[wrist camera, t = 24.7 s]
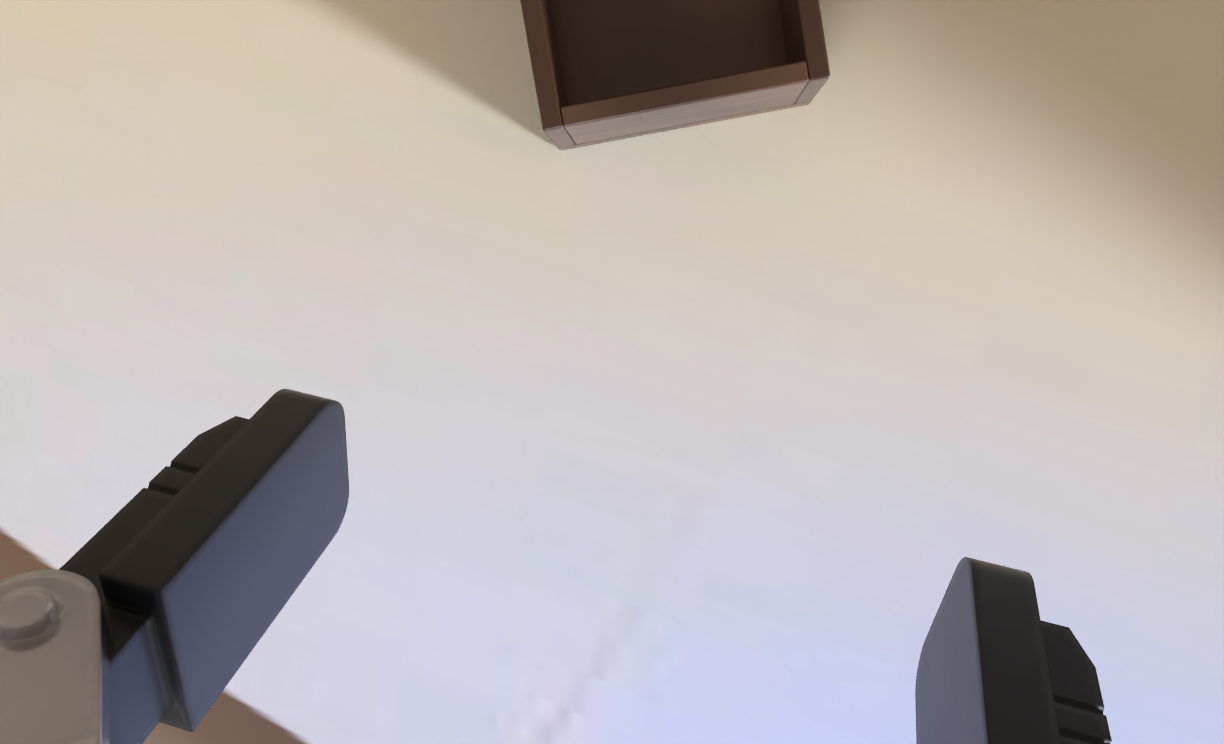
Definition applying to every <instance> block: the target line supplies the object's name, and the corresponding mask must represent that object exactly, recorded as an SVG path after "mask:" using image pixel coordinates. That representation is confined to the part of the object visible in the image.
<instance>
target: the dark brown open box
mask: <svg viewBox="0 0 1224 744" xmlns="http://www.w3.org/2000/svg"><path fill="white" fill-rule="evenodd" d="M520 1H521V7H522V13H523V18H524V24H525V30H526V36H527V41H528V47H529V53H530V58H531V64H532V70H533V75H534V81H535V87H536V93H537V98H538V104H539V110H540V115H541V121H542V127H543V130H544V131H545V133H546V134H547V135H548V136H549V137H550V139H551V140H552V141H553V142H554V143H555V145H556V146H557V147H558V148H559V149H560V150H565V149H571V148H576V147H581V146H587V145H592V144H598V143H603V142H608V141H614V140H619V139H625V138H630V137H635V136H641V135H646V134H651V133H657V132H662V131H668V130H673V129H678V128H684V127H689V126H695V125H700V124H705V123H711V122H716V121H721V120H727V119H732V118H738V117H743V116H748V115H754V114H759V113H765V112H770V111H775V110H781V109H786V108H792V107H797V106H802V105H808V104H810V102H811V101H812V100H813V98H814V97H815V96H816V94H817V93H818V92H819V91H820V89H821V88H822V87H823V85H824V84H825V83H826V81H827V80H828V79H829V77H830V71H829V64H828V57H827V51H826V44H825V38H824V31H823V24H822V18H821V11H820V5H819V0H520Z"/></svg>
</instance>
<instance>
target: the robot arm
mask: <svg viewBox="0 0 1224 744" xmlns="http://www.w3.org/2000/svg"><path fill="white" fill-rule="evenodd" d="M348 498H349V479H348V463H347V447H346V431H345V416H344V410H343V407H342V405H341V404H340V403H339V402H337V401H334V400H330V399H326V398H322V397H318V396H314V395H310V394H306V393H302V392H297V391H293V390H289V389H282V390H280V391H278V392H276V393H275V394H274V395H273V396H272V397H271V398H270V399H269V400H268V401H267V402H266V403H265V404H264V405H263V406H262V407H261V408H260V409H259V410H258V411H257V412H256V413H255V414H254V415H253V416H252V417H251V418H250V419H245V418H241V417H237V416H235V417H233V418H231V419H229V420H227V421H226V422H224V423H222V424H220V425H218V426H216V427H214V428H212V429H210V430H208V431H206V432H204V433H202V434H200V435H198V436H197V437H196V438H195V439H194V440H193V441H192V442H191V443H190V444H189V445H188V446H187V447H186V448H185V449H183V450H182V451H181V452H180V453H179V454H178V455H177V456H176V457H175V458H174V459H173V460H172V461H171V465H170V467H167V466H166V467H165V468H164V469H163V470H162V471H161V472H160V473H159V474H158V475H157V476H156V477H155V478H154V479H152V480H151V481H150V482H149V487H148V488H147V489H146V488H143V489H142V490H141V491H140V492H139V493H138V494H137V495H136V496H135V497H134V498H133V499H132V500H131V501H130V502H129V503H128V504H127V505H126V506H125V507H124V508H122V509H121V510H120V511H119V512H118V513H117V514H116V515H115V516H114V517H113V518H112V519H111V520H110V521H109V522H108V523H107V524H106V525H105V526H104V527H103V528H102V529H101V530H100V531H99V532H98V533H97V534H96V535H95V536H94V537H92V538H91V539H90V540H89V541H88V542H87V543H86V544H85V545H84V546H83V547H82V548H81V549H80V550H79V551H78V552H77V553H76V554H75V555H74V556H73V557H72V558H71V559H70V560H69V561H68V562H67V563H66V564H65V565H63V566H62V567H61V568H60V569H59V570H39V571H31V572H26V573H22V574H18V575H15V576H12V577H9V578H7V579H4V580H2V581H0V744H142V743H143V742H144V740H145V739H146V738H147V736H148V735H149V734H150V733H151V732H152V730H153V729H154V728H155V726H156V725H157V724H158V722H161V723H164V724H168V725H171V726H174V727H177V728H181V729H184V730H187V731H191V732H193V731H194V729H195V728H196V727H197V725H198V723H200V721H201V720H202V718H203V717H204V715H205V714H206V713H207V711H208V710H209V709H210V707H211V706H212V704H213V703H214V702H215V700H216V699H217V698H218V696H219V695H220V693H221V692H222V691H223V689H224V688H225V687H226V685H227V684H228V682H229V681H230V680H231V678H232V677H233V676H234V674H235V673H236V671H237V670H238V669H239V667H240V666H241V665H242V663H243V662H244V660H245V659H246V658H247V656H248V655H249V653H250V652H251V651H252V649H253V648H254V647H255V645H256V644H257V642H258V641H259V640H260V638H261V637H262V636H263V634H264V633H265V631H266V630H267V629H268V627H269V626H270V624H271V623H272V622H273V620H274V619H275V618H276V616H277V615H278V613H279V612H280V611H281V609H282V608H283V607H284V605H285V604H286V602H287V601H288V600H289V598H290V597H291V595H292V594H293V593H294V591H295V590H296V589H297V587H298V586H299V584H300V583H301V582H302V580H303V579H304V578H305V576H306V575H307V573H308V572H309V571H310V569H311V568H312V566H313V565H314V564H315V562H316V561H317V560H318V558H319V557H320V555H321V554H322V553H323V551H324V550H325V548H326V547H327V546H328V544H329V543H330V542H331V540H332V539H333V537H334V536H335V534H336V533H337V531H338V529H339V527H340V525H341V523H342V520H343V518H344V515H345V512H346V508H347V504H348ZM1103 709H1104V705H1103V700H1102V696H1101V691H1100V686H1099V682H1098V677H1097V673H1096V668H1095V666H1094V665H1093V663H1092V662H1091V660H1090V659H1089V657H1088V656H1087V654H1086V653H1085V651H1084V650H1083V648H1082V647H1081V645H1080V644H1079V642H1078V641H1077V639H1076V638H1075V636H1074V635H1073V633H1072V632H1071V630H1070V629H1069V628H1068V627H1064V626H1060V625H1056V624H1052V623H1048V622H1044V621H1040V616H1039V610H1038V604H1037V598H1036V593H1035V587H1034V582H1033V578H1032V576H1031V575H1030V573H1028V572H1025V571H1021V570H1017V569H1013V568H1009V567H1005V566H1000V565H996V564H992V563H988V562H984V561H980V560H976V559H972V558H968V557H964V558H963V559H962V560H961V561H960V562H959V564H958V566H957V568H956V570H955V572H954V574H953V577H952V579H951V581H950V584H949V586H948V588H947V591H946V593H945V595H944V598H943V600H942V602H941V604H940V607H939V609H938V611H937V614H936V616H935V618H934V621H933V623H932V625H931V628H930V630H929V632H928V635H927V637H926V639H925V642H924V645H923V648H922V652H921V655H920V660H919V665H918V670H917V678H916V737H917V744H1111V736H1110V732H1109V727H1108V723H1107V718H1106V716H1105V715H1103Z"/></svg>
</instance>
